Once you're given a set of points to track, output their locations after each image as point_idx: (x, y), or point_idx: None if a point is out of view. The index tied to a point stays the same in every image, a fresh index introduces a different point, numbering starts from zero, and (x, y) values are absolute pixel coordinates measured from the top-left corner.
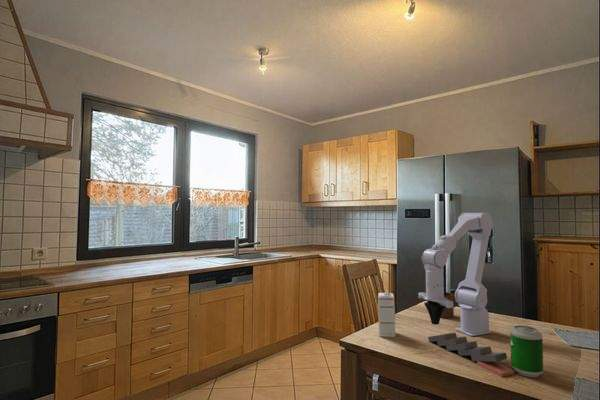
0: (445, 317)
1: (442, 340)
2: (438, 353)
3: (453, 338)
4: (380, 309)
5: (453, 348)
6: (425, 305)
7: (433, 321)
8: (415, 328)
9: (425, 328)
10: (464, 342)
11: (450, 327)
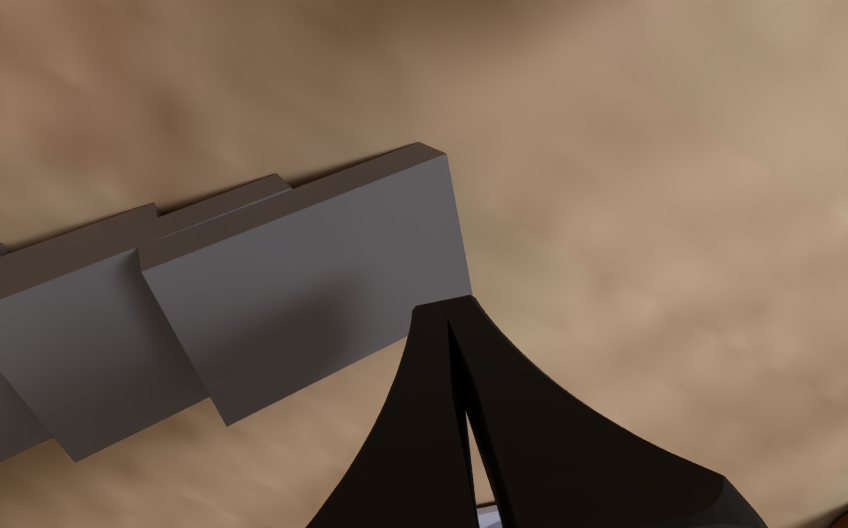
0: (842, 525)
1: (189, 224)
2: (58, 60)
3: (144, 344)
4: None
5: (43, 247)
6: (675, 475)
7: (419, 324)
8: (818, 200)
9: (760, 292)
10: None
11: None
